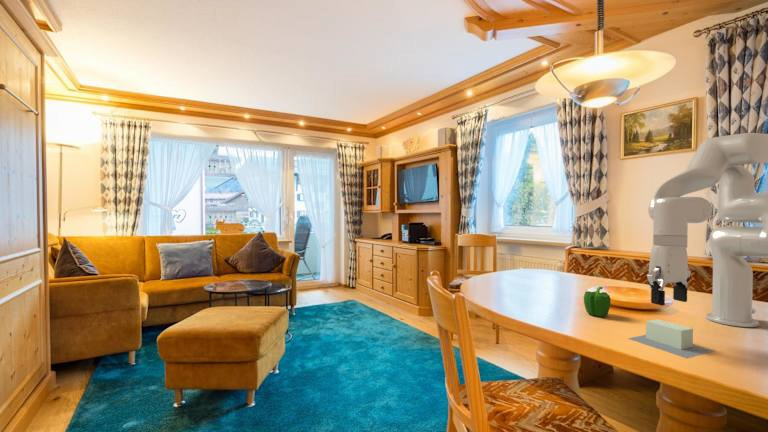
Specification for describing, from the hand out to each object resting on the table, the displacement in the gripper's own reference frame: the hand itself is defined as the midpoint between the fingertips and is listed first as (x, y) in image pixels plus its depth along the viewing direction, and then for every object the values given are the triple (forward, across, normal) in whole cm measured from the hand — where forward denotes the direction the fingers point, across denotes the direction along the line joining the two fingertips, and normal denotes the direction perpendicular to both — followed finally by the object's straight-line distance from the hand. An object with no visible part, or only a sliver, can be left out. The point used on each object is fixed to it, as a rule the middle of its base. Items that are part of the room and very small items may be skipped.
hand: (669, 302), depth 101 cm
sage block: (+11, 0, 0) cm, 11 cm away
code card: (+11, +2, +1) cm, 12 cm away
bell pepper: (+12, -6, -26) cm, 29 cm away
